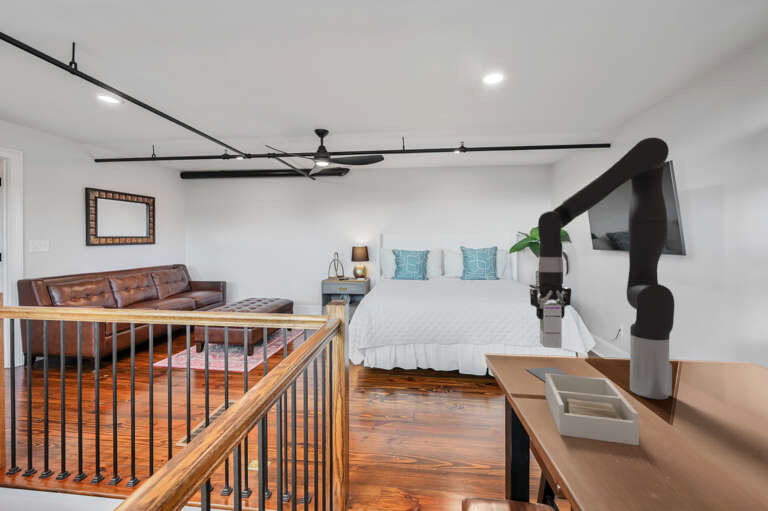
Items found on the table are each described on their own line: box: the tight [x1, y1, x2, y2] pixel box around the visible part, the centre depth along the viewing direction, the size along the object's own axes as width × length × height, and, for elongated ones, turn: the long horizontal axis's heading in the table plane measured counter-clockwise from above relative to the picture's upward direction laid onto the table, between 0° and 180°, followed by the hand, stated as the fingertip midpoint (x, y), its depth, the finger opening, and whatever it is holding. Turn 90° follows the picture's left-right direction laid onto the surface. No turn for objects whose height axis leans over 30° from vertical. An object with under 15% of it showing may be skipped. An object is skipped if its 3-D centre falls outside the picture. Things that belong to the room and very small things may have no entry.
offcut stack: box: [567, 399, 623, 420], centre depth 82 cm, size 5×12×6 cm, turn 73°
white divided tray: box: [544, 373, 640, 446], centre depth 88 cm, size 21×16×7 cm
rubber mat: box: [525, 366, 569, 383], centre depth 117 cm, size 11×11×1 cm
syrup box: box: [539, 301, 563, 349], centre depth 116 cm, size 6×6×14 cm
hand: (550, 318), depth 116 cm, fingers closed on syrup box, 7 cm apart
